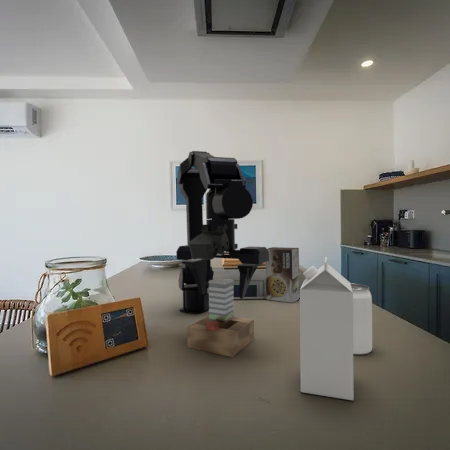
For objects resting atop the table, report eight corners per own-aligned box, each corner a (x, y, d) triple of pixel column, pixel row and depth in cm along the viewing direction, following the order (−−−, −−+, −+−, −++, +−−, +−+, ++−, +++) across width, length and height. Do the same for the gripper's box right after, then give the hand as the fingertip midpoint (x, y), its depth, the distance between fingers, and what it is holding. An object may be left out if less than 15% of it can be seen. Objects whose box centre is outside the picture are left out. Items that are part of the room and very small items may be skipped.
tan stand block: (187, 347, 62) (187, 320, 62) (213, 331, 71) (213, 308, 70) (232, 357, 57) (232, 328, 57) (254, 338, 66) (254, 314, 66)
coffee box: (300, 298, 98) (299, 247, 98) (293, 303, 93) (292, 249, 93) (273, 295, 103) (272, 246, 103) (265, 299, 98) (264, 248, 97)
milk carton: (350, 377, 49) (350, 257, 49) (353, 402, 43) (352, 263, 42) (304, 370, 52) (303, 255, 51) (300, 393, 45) (299, 261, 45)
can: (376, 356, 56) (375, 290, 56) (338, 354, 58) (338, 289, 57) (367, 343, 63) (367, 283, 62) (333, 341, 64) (333, 282, 64)
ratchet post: (209, 320, 63) (208, 281, 63) (218, 315, 66) (217, 277, 66) (225, 323, 61) (224, 282, 61) (234, 317, 64) (233, 279, 64)
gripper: (158, 220, 61) (159, 300, 61) (245, 218, 52) (246, 312, 52) (191, 219, 71) (192, 288, 71) (269, 218, 62) (270, 297, 62)
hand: (221, 295), depth 64 cm, fingers open, 9 cm apart
